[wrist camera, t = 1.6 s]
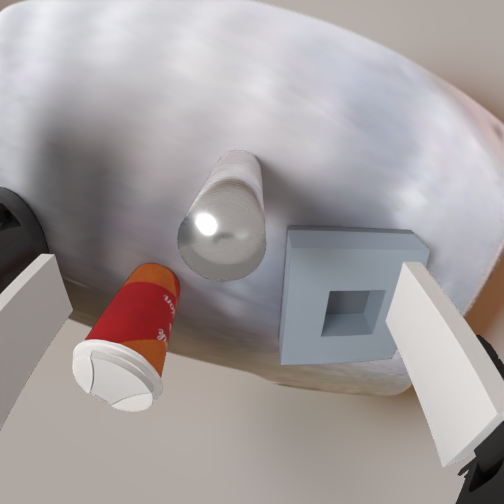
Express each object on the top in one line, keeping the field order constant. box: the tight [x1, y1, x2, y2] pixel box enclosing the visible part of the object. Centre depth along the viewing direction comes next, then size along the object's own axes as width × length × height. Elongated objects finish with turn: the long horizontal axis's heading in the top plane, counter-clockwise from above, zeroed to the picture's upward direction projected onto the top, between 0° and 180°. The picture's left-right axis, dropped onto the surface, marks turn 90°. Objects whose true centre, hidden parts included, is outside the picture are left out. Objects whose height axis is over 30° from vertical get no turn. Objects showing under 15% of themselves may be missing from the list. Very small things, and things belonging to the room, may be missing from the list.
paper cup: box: [72, 263, 180, 411], centre depth 26 cm, size 8×8×14 cm
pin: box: [178, 150, 266, 281], centre depth 20 cm, size 4×4×14 cm
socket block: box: [278, 226, 430, 365], centre depth 30 cm, size 13×14×4 cm
